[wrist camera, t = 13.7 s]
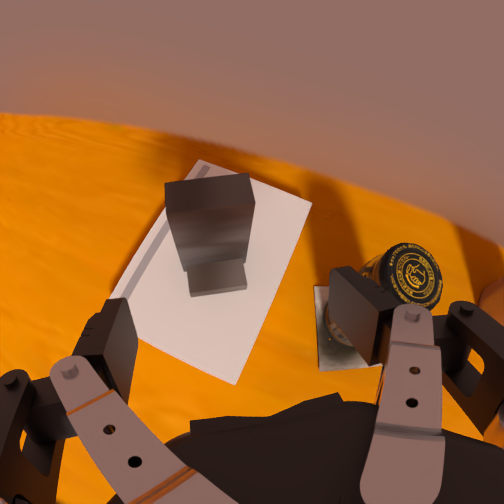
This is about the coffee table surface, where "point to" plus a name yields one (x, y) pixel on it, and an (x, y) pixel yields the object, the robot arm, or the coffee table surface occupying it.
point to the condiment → (394, 282)
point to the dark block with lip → (212, 230)
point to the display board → (216, 305)
